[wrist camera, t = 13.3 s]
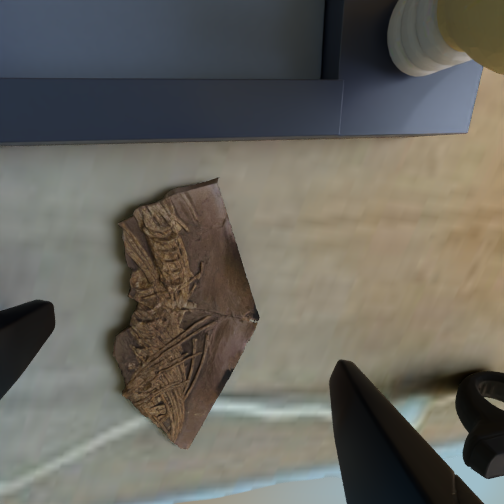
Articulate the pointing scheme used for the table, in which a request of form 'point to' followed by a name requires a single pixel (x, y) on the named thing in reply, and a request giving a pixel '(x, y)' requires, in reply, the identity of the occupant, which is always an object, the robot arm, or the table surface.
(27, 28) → the storage tray
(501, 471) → the controller
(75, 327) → the table surface
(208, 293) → the fossil slab
